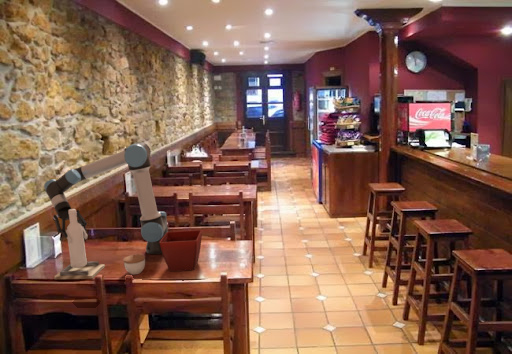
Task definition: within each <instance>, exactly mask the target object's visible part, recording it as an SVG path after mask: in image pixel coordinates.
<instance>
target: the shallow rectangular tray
mask: <svg viewBox="0 0 512 354" xmlns="http://www.w3.org/2000/svg"><path fill="white" fill-rule="evenodd" d="M99 263H100V262H99V261H87V265H85V266H83V267H80V268H73V267H71V263H70V264H68V265H67V266H65V268H63V269H62V270H61V271H59V272H58V273H57V274H56V275H54V276H53V277H54V280H80V279H81V280H83V279H84V280H85V279H94V278H95V277H96V276H97V275H99V273H100V272H101V271H102V270H103V269H104V268H105V267H106V265H105V264H103V263H100V264H99Z"/></svg>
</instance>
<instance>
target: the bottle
mask: <svg viewBox="0 0 512 354" xmlns="http://www.w3.org/2000/svg"><path fill="white" fill-rule="evenodd" d="M68 211H69V212H68V213H69V219H70V220H69V224H68V225H67V227H66V230H67V231H68V233H69V235H70V237H71V239H72V242H71V243H69V241H68V240H67V245H68V252H69V253H68V254H69V261H70V264H71V267H73V268H80V267H83V266H85V265H87V262H88V259H87V255H86V252H87V251H86V246H85V238H84V236H83V228H82V226H81V224H79V223H78V222H77V219H78V218H77V214H76V211H77V209H76V208H71V209H70V210H68Z"/></svg>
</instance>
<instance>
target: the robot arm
mask: <svg viewBox="0 0 512 354" xmlns="http://www.w3.org/2000/svg"><path fill="white" fill-rule="evenodd" d="M151 152H152V151H151V149H150V146H149V145H148V144H147V143H145V142H144V141H143V142H142V141H137V142H134V143H132V144H130V145H129V146H127V147H124V149H123V150H122V151H120V152H116V153H114V154H112V155H109V156H105V157H104V158H100V159H98V160H95V161H93V162H90V163H87V164H85V165H82V166H80V167H76V168H71V169H69V170H68V171H66V172H65V173H64V174H63V175H61V176H60V177H59V178H57V179H55V178H52V179H49V180H47V181H45V183H44V185H43V188H44V190H45V193H46V194H47V196H48V199H49V200H50V202H51V204H52V207H53V208H54V210H55V213H56V214H54V215H53V216H52V220H53V221H54V224H55V228H56V230H57V233H58V234H61V235H62V236H63V237H64V238H65V239H67V242H68V241H69V243H71V242H72V239H71V237H70V235H69V233H68V231H67V229H66V221H68V220H69V221H70V219H69V213H68V212H69V211H68V210H70V209H72V207H71V204H70V203H69V200H68V199H67V197H66V194H65V192H67V191H68V190H69V189H71V188H72V187H73V186H75V185H77V184H79V182H82V181H85V180H88V179H90V178H93V177H96V176H99V175H102V174H104V173H106V172H109V171H112V170H114V169H117V168H120V167H123V166H125V165H127V166H128V171H129V172H131V173H132V175H133V180H134V185H135V189H136V194H137V199H138V203H139V209H140V212H141V216H140V217H139V221H140V225H141V228H140V234H141V237H142V239H143V240H144V241H146V247H145V252H146V253H147V254H149V255H163V254H162V251H161V247H160V243H159V242H160V241H161V239H162V238H163V237H164V235H165V234H166V233H167V232H169V231H168V230H169V229H168V219H167V216H168V215H167V212H165V211H158V208H157V203H156V197H155V194H154V189H153V185H152V183H153V182H152V180H151V175H150V168H151V167H152V166H151V160H150V157H151ZM76 214H77V222H78V223H79V224H81V226H82V228H83V236H84V240H87V239H88V233H87V228H86V227H87V225H88V222H87V220H86V219H85V218H84V217H83V215H82V214H81V213H80V210H79V209H76ZM60 219H61V223H60Z"/></svg>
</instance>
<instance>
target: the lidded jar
mask: <svg viewBox="0 0 512 354" xmlns="http://www.w3.org/2000/svg"><path fill="white" fill-rule="evenodd" d="M122 259H123V260H122V261H123V264H124V268H125V270H126V272H127V273H129V274H130V275H139V274H141V273H142V272H143V271H144V269H145V266H146V256H145V254H144V255H143V254H132V255H128V256H125V257H124V258H122Z"/></svg>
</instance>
